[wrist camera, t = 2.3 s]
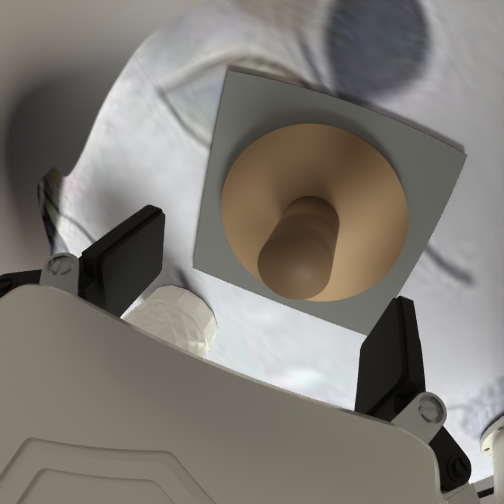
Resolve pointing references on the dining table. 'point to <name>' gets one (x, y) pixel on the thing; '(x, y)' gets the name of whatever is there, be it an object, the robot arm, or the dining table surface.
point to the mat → (351, 119)
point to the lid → (314, 212)
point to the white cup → (176, 319)
